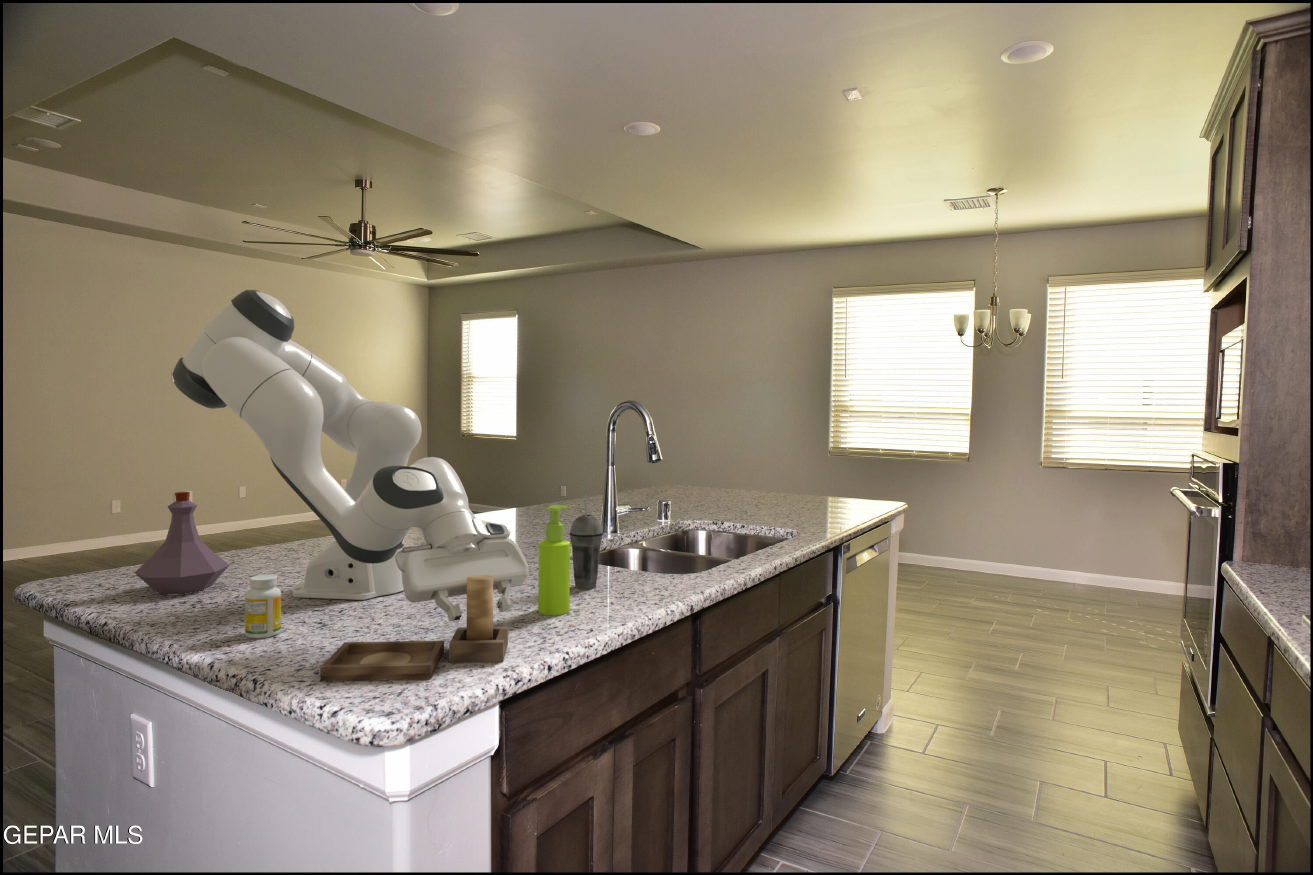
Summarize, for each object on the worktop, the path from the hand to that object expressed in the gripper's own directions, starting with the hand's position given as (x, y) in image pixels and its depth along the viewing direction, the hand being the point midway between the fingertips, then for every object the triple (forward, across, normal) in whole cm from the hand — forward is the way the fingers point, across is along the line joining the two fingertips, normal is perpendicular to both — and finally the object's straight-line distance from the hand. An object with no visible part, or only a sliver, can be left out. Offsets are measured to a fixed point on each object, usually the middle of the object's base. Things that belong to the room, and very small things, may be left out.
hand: (481, 614), depth 115 cm
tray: (+2, -14, +7) cm, 15 cm away
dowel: (+4, 0, +5) cm, 6 cm away
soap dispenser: (-6, +22, +15) cm, 28 cm away
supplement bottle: (-17, -24, +26) cm, 40 cm away
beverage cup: (-14, +37, +24) cm, 46 cm away
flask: (-46, -31, +56) cm, 79 cm away
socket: (+4, 0, +5) cm, 6 cm away
